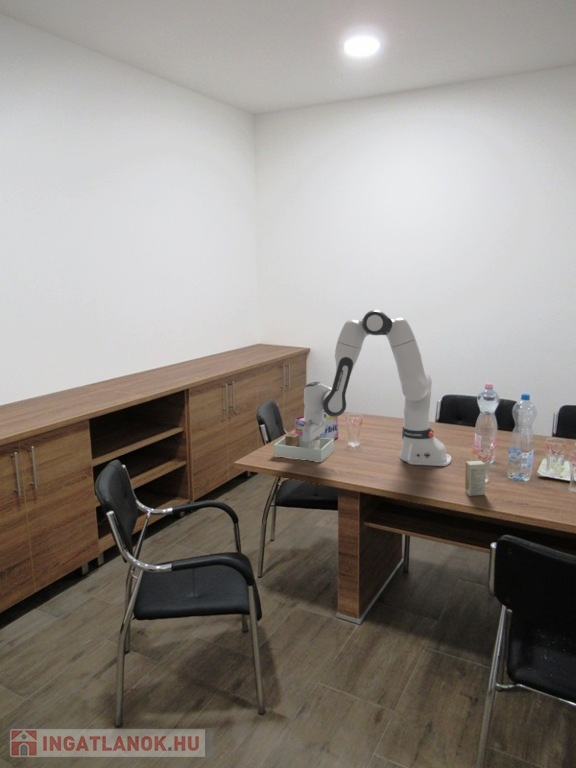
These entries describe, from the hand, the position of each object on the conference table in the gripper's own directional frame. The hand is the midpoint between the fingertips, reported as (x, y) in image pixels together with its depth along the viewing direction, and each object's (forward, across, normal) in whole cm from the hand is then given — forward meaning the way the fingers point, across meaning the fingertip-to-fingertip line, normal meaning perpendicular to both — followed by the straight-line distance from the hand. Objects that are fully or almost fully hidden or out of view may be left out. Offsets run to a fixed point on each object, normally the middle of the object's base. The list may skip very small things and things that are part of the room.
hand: (314, 446), depth 245 cm
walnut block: (+4, 0, +11) cm, 12 cm away
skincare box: (+5, -20, -72) cm, 75 cm away
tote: (+4, 0, +5) cm, 7 cm away
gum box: (+5, +20, +6) cm, 22 cm away
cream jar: (+3, 0, 0) cm, 3 cm away
